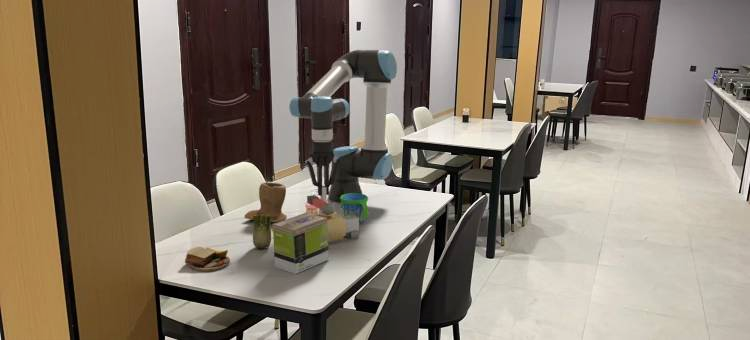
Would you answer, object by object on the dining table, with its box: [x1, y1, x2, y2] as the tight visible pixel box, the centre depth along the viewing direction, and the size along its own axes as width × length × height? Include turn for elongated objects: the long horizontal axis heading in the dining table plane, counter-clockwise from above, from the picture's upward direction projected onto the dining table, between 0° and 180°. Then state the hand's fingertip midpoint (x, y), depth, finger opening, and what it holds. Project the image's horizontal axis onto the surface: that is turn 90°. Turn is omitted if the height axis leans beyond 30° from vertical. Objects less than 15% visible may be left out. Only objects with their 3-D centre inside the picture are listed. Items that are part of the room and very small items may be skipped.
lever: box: [306, 194, 335, 214], centre depth 216 cm, size 17×4×3 cm, turn 31°
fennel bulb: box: [252, 215, 272, 250], centre depth 205 cm, size 6×5×12 cm
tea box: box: [272, 212, 330, 275], centre depth 191 cm, size 15×10×15 cm, turn 141°
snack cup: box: [339, 193, 369, 225], centre depth 233 cm, size 16×10×10 cm
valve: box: [315, 211, 360, 245], centre depth 212 cm, size 7×22×10 cm, turn 121°
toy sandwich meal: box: [184, 246, 231, 272], centre depth 192 cm, size 12×14×5 cm
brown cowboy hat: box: [243, 181, 288, 223], centre depth 234 cm, size 15×12×15 cm
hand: (323, 203), depth 219 cm, fingers closed
